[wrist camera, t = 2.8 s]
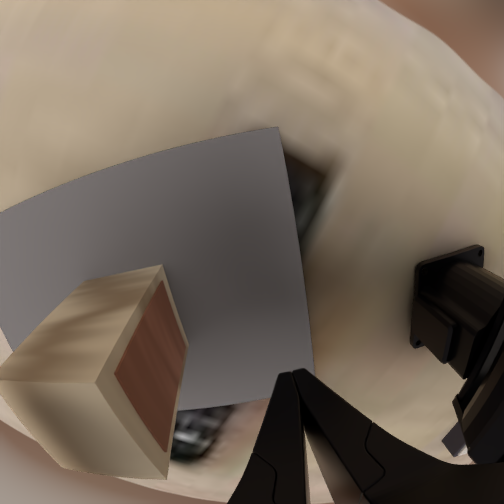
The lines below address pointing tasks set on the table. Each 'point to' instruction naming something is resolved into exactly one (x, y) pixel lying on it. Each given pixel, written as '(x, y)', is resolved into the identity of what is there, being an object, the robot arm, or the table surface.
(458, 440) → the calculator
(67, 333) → the birch block
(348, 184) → the table surface
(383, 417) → the table surface
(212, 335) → the rubber mat
